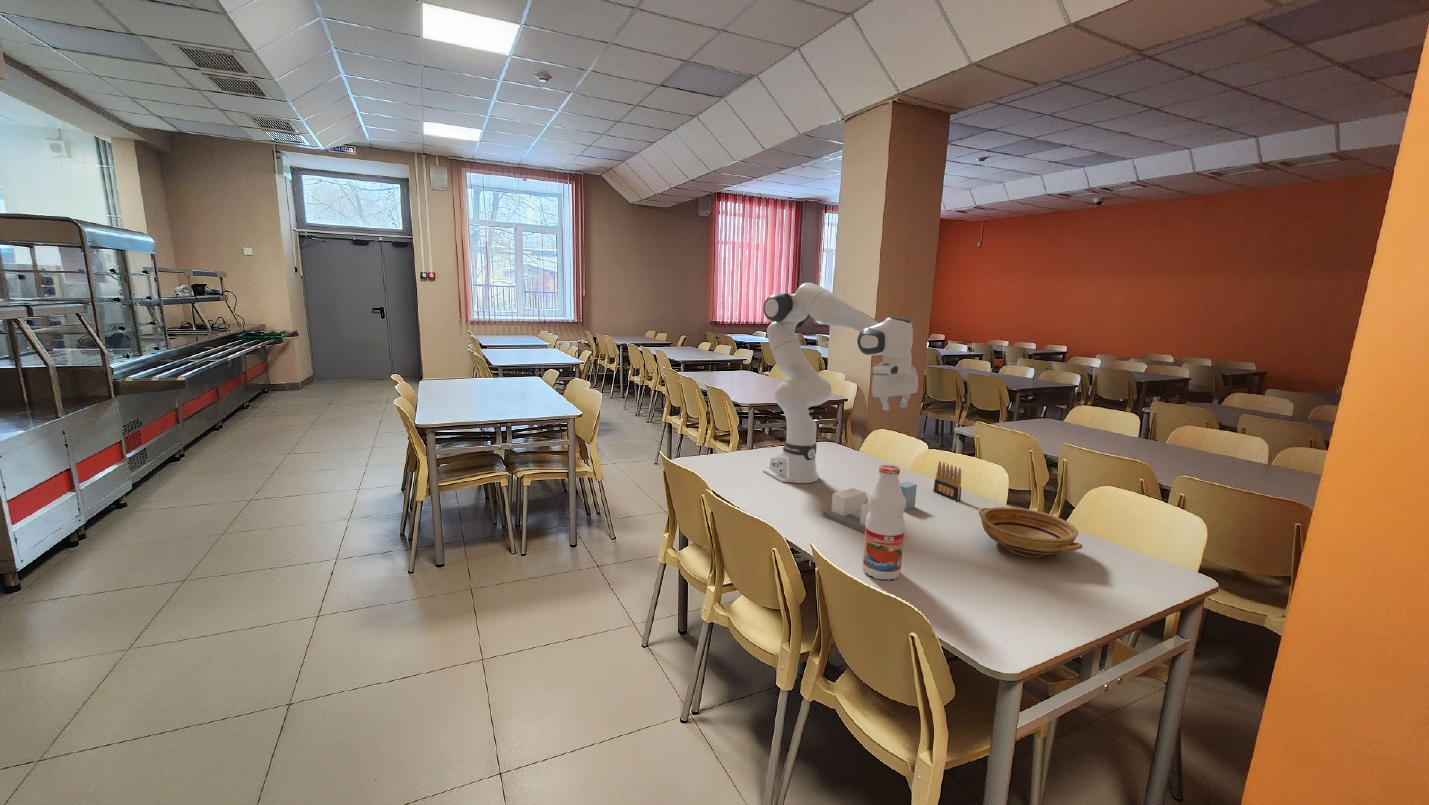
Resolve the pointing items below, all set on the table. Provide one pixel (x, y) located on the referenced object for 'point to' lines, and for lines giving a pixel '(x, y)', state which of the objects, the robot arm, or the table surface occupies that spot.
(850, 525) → the board
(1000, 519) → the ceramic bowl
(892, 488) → the fruit juice
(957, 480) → the ammunition clip
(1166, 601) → the table surface
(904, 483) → the block
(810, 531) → the table surface
